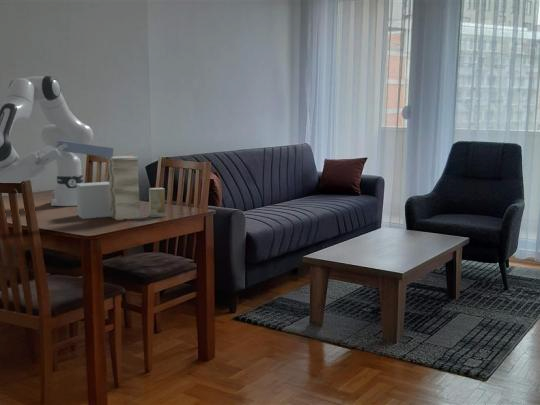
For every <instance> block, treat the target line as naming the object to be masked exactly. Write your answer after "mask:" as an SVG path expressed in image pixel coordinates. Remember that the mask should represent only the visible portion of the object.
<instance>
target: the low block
mask: <svg viewBox="0 0 540 405" xmlns="http://www.w3.org/2000/svg"><path fill="white" fill-rule="evenodd" d="M76 193H77V206H76V207H77V208H76V209H77V216H78V217H79V218H81V219H82V220H83V219H94V218H97V217H98V218H106V217H107V218H109V217H111V206H110V185H109V181H101V182H100V181H97V182H82V183H79V184H76Z"/></svg>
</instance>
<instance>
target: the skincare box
mask: <svg viewBox="0 0 540 405" xmlns="http://www.w3.org/2000/svg"><path fill="white" fill-rule="evenodd" d="M148 206H149V209H148V210H149V211H148V212H149V213H148V214H149V217H151V218H161V217H166V189H165V188H164V187H150V188H148Z"/></svg>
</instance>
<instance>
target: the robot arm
mask: <svg viewBox="0 0 540 405" xmlns="http://www.w3.org/2000/svg"><path fill="white" fill-rule="evenodd" d="M34 103H38V104H39V107H40V109H41V111H42V113H43V115H44V117H45V119H46V120H47V122H49V123H50V124H47V125H45V126H44V127H43V128H42V130H41V133H40V135H41V140H42V142H43V143H44V144H45V147H43V148H39V150H37V151H35V152H34V151H32V150H31V151H30V152H28V153H26V154H25V155H23V156H22V157H20V155H19V154H18V152H17V151H16V149H15V148H14V146H13V145H12V142H11V139H10V134H11V132H12V129H13V126H14V123H15V124H18V123H19V124H21V123H24V122H26V121H28V120H29V118H30V117H31V115H32V113H33V112H32V111H33V107H34ZM69 108H70V107H69V106H68V104H67V102H66V100H65V98H64V95H63V93H62V92H61V85H60V82H59V81H58V79H57V78H55V77H54V76H50V75H44V76H43V75H42V76H41V75H39V76H35V75H34V76H29V77H22V78H21V77H20V78H15V79H13V80H11V82H10V83H9V85H8V90H7V92H6V94H5V98H4V101H3V105H2V106H1V108H0V183H21V182H22V181H26V182H27V181H28V180H29V179H31V178H33V177H36V176H39V174H41V173H43V172H45V171H46V168H45V167H46V166H47V165H48V164H51V163H52V162H54V161H55V163H56V169H57V170H56V171H57V176H56V183H57V184H56V186H55V188H54V189H53V191H52V193H51V194H52V197H53V199H52V201H51V203H50V206H52V207H54V206H58V207H75V206H76V207H77V193H76V184H79V183H84V177H83V174H82V160H81V159H80V157H79V156H78V155H76V154H75V153H70V152H62V151H63V150H64V149H65V148H66V147H68V146H67V144H66V143H63V144H62V145H61V146H59V147H57V140H61V141H68V142H75V143H82V144H89V145H92V144H91V143H92V142H93V140H94V132H93V129H92V128H91V127H90V126H89V125H88V124H85V123H84V122H82V121H81V120H79V119H78V118H77V117H76V116H75V115H74V114H73V113H72V112H71V110H70V109H69ZM56 147H57V148H56Z"/></svg>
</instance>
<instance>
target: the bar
mask: <svg viewBox="0 0 540 405" xmlns="http://www.w3.org/2000/svg"><path fill="white" fill-rule="evenodd" d="M63 143H66V144H67V146H68V147H66V148H65V149H64V150H63V151H62V152H70V153H73V154H82V155H90V156H96V157H104V158H107V157H110V158H112V157H113V156H114V150H115V149H114V148H113V147H110V146H108V147H107V146H102V145H97V144H90V145H89V144H82V143H75V142H68V141H61V140H57V147H59V146H61V145H62V144H63ZM57 147H56V148H57Z"/></svg>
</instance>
